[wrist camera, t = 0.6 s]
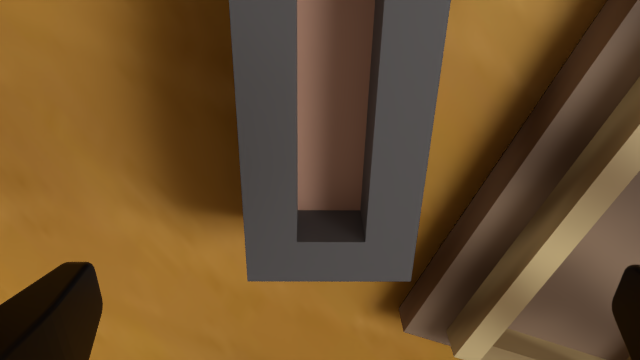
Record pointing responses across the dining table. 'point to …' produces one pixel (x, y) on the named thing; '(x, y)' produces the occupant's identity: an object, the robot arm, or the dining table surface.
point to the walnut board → (549, 219)
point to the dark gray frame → (334, 133)
